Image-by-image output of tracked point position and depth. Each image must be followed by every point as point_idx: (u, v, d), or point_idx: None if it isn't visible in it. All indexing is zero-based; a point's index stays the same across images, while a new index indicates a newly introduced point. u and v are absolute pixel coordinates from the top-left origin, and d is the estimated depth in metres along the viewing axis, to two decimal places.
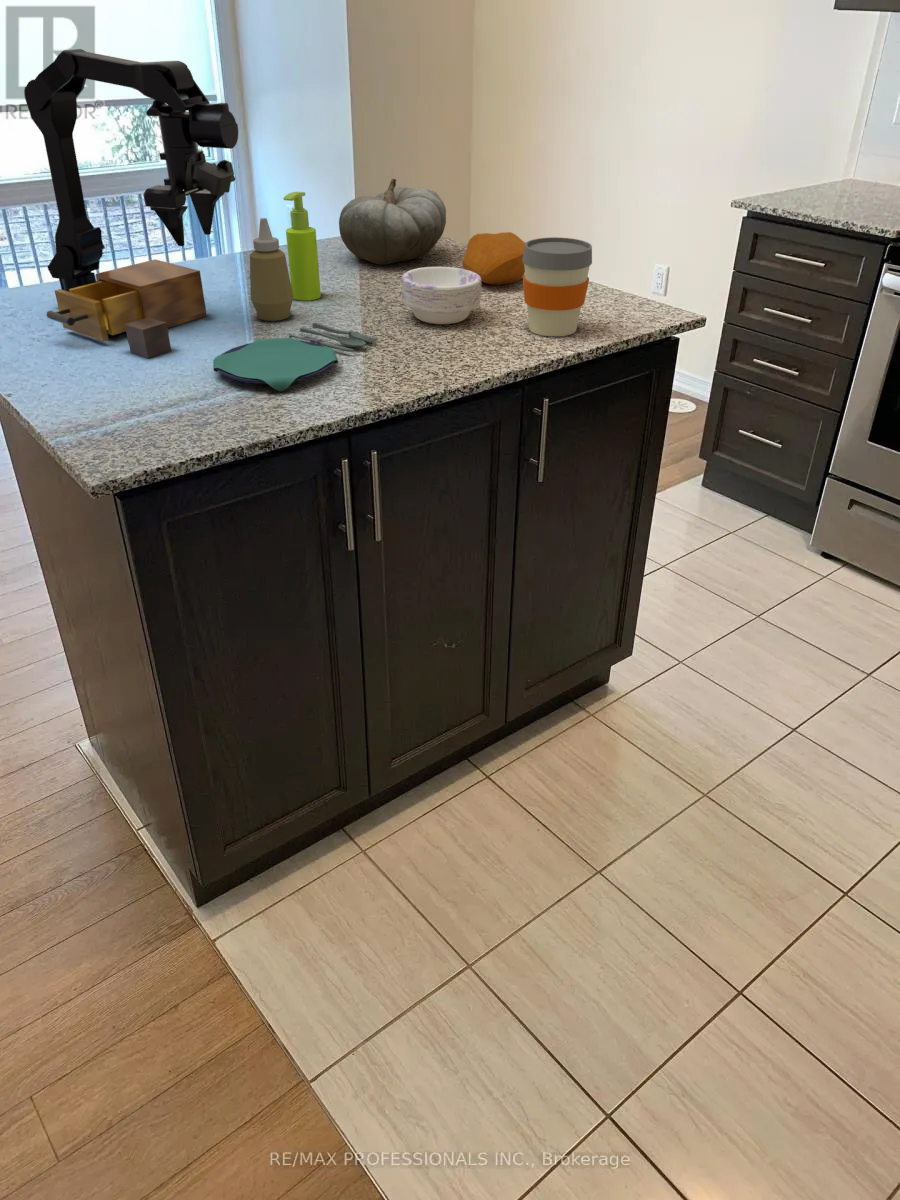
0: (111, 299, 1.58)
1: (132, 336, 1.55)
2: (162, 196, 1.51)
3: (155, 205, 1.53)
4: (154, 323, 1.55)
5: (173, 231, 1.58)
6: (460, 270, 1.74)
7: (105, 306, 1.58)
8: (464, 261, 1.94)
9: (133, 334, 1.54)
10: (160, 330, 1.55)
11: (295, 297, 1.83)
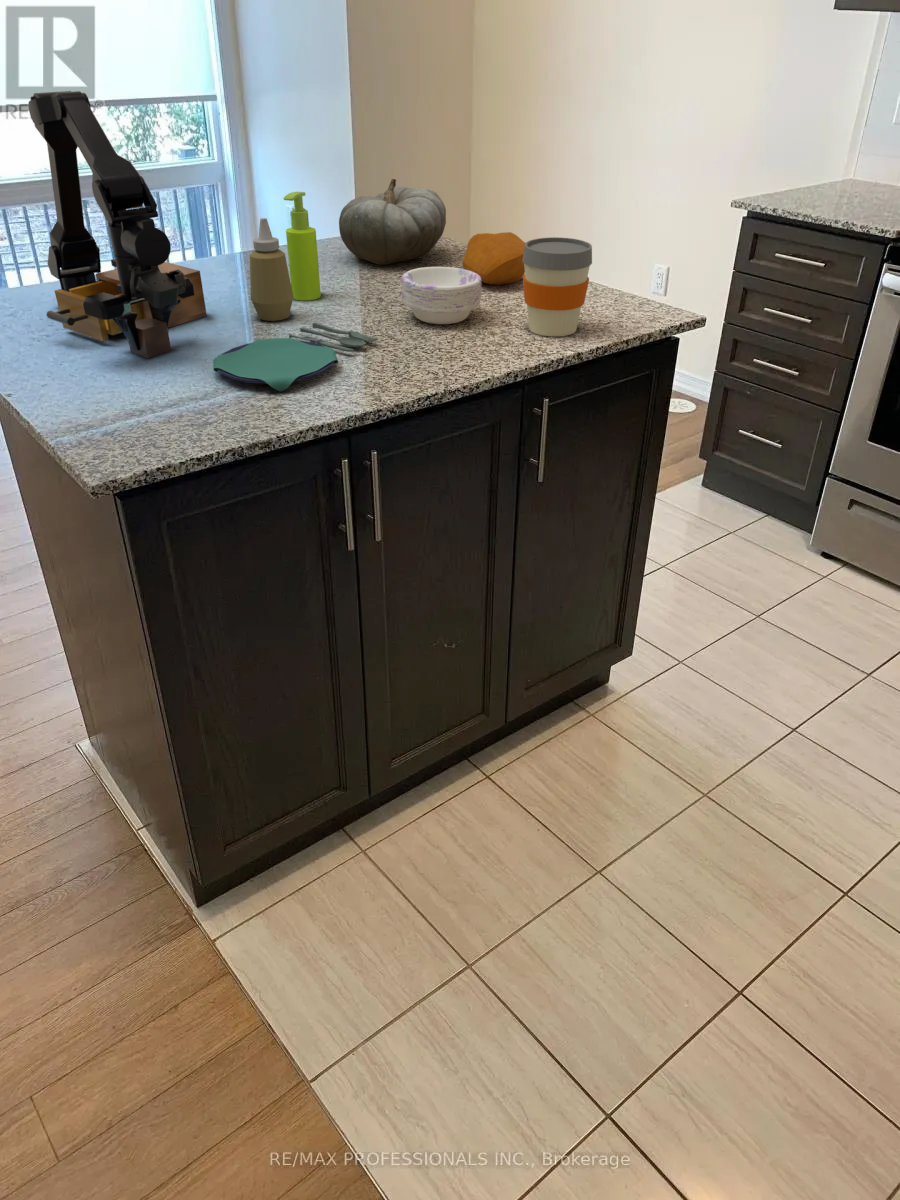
0: None
1: None
2: (95, 307, 1.45)
3: (91, 314, 1.47)
4: (154, 323, 1.55)
5: (127, 335, 1.53)
6: (460, 270, 1.74)
7: None
8: (464, 261, 1.94)
9: None
10: (161, 330, 1.55)
11: (295, 297, 1.83)
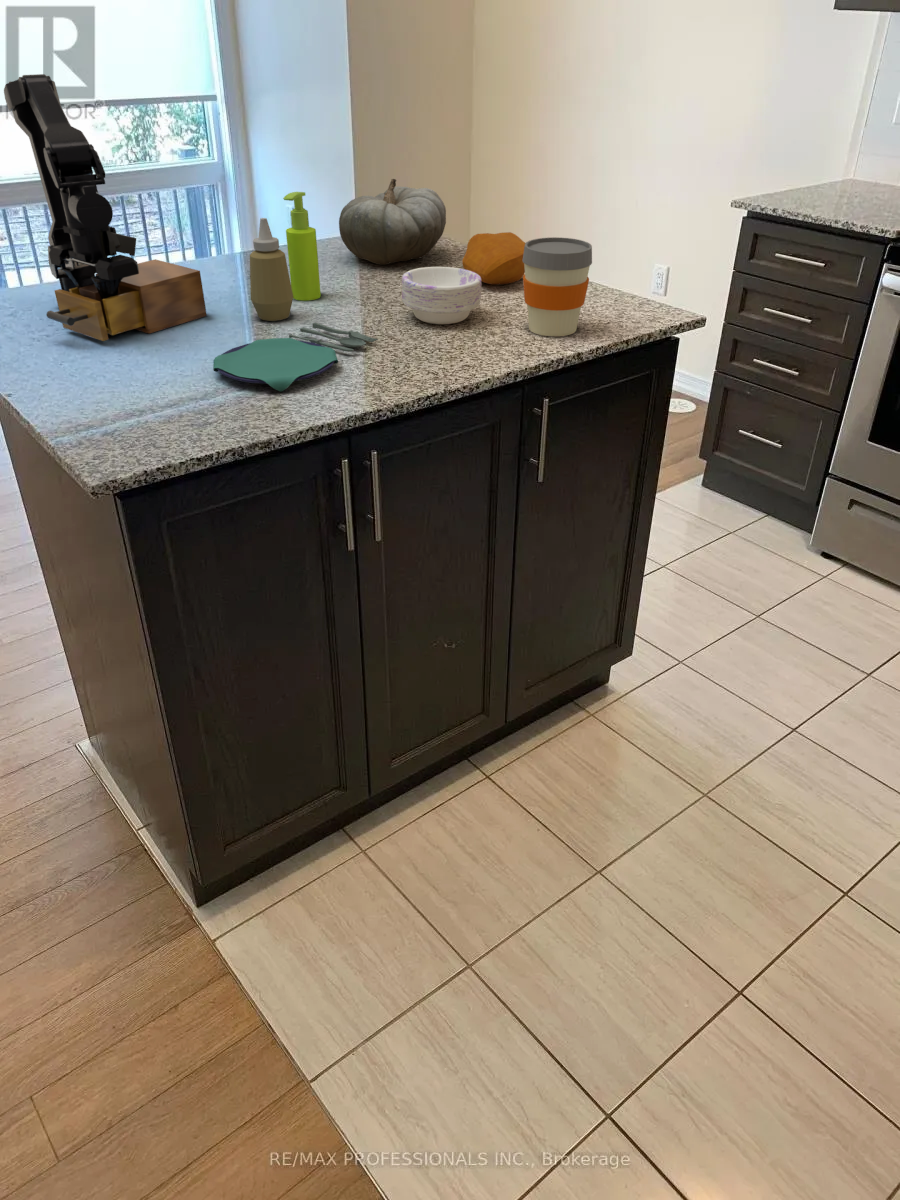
0: (111, 299, 1.58)
1: None
2: (129, 265, 1.55)
3: (122, 276, 1.54)
4: None
5: None
6: (460, 270, 1.74)
7: (105, 306, 1.58)
8: (464, 261, 1.94)
9: None
10: None
11: (295, 297, 1.83)
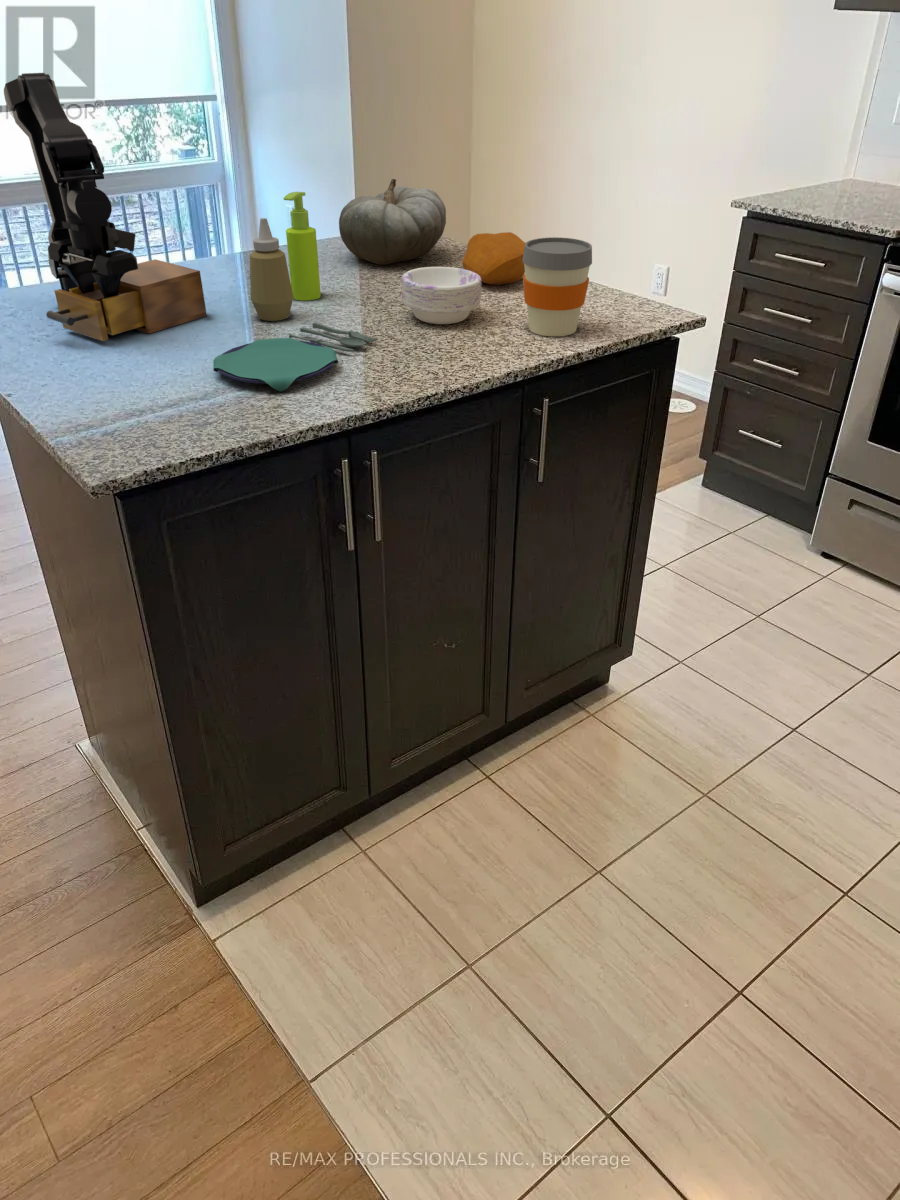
0: (111, 299, 1.58)
1: None
2: (128, 260, 1.54)
3: (121, 271, 1.54)
4: None
5: (111, 295, 1.60)
6: (460, 270, 1.74)
7: (105, 306, 1.58)
8: (464, 261, 1.94)
9: None
10: None
11: (295, 297, 1.83)
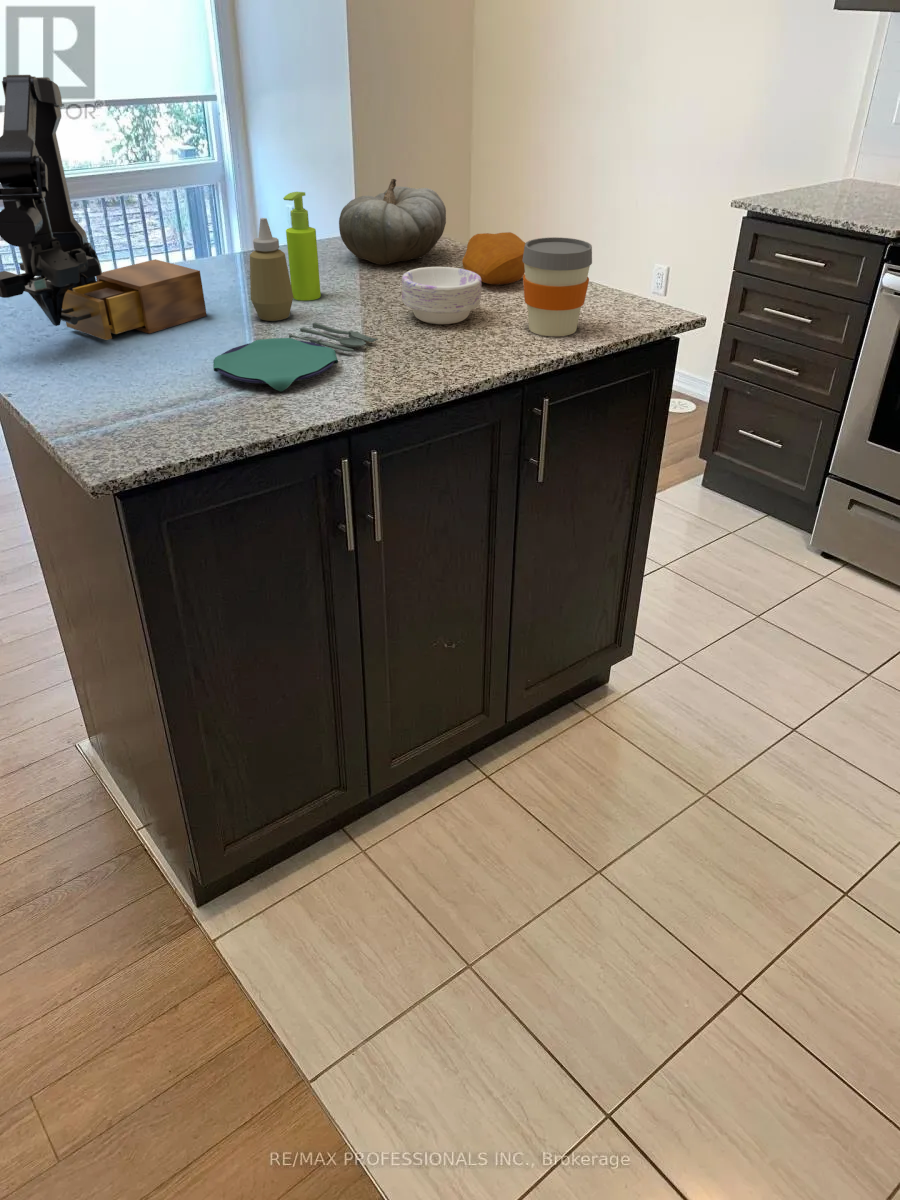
0: (114, 298, 1.59)
1: None
2: None
3: None
4: (106, 290, 1.64)
5: (45, 311, 1.56)
6: (460, 270, 1.74)
7: (108, 305, 1.59)
8: (464, 261, 1.94)
9: None
10: None
11: (295, 297, 1.83)
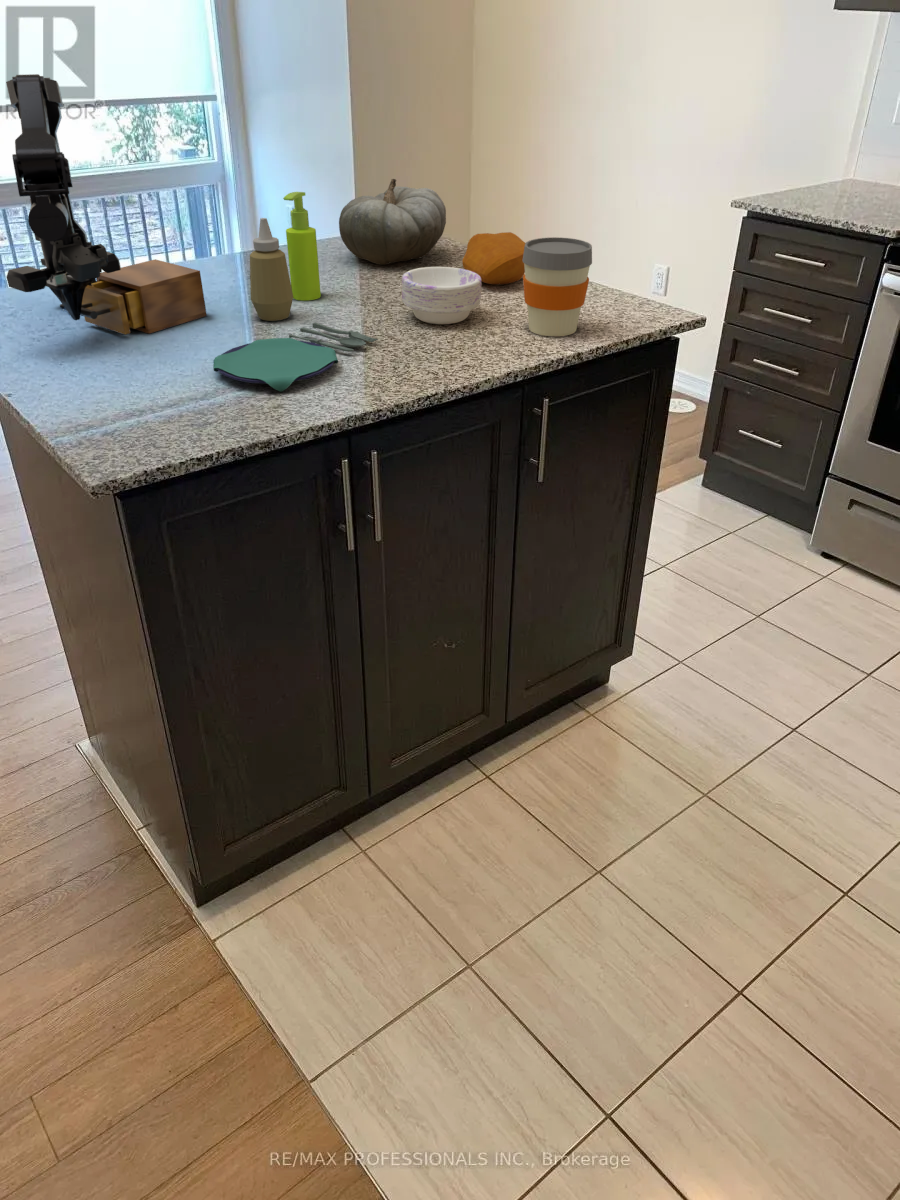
0: (133, 293, 1.61)
1: None
2: (17, 279, 1.49)
3: (14, 287, 1.50)
4: None
5: (65, 305, 1.59)
6: (460, 270, 1.74)
7: (127, 300, 1.61)
8: (464, 261, 1.94)
9: None
10: None
11: (295, 297, 1.83)
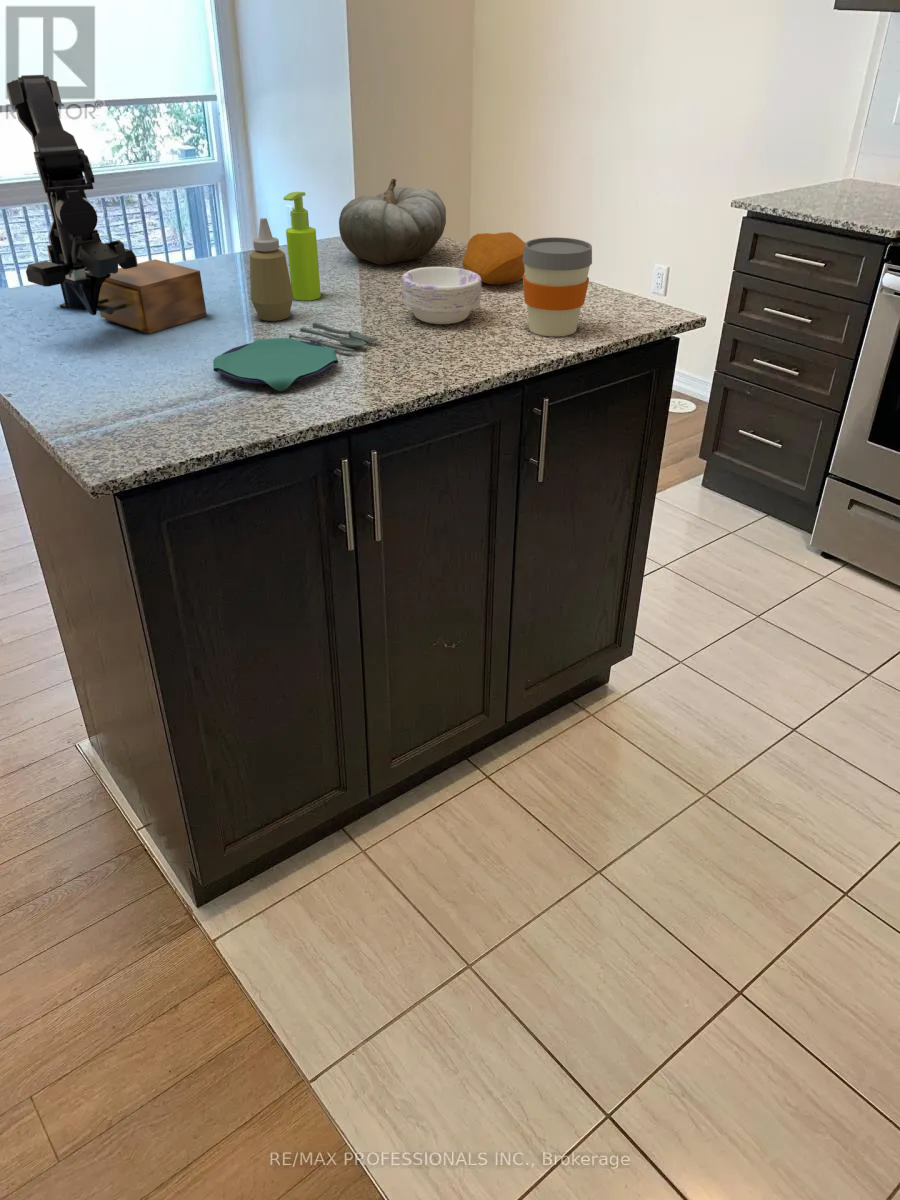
0: None
1: None
2: (37, 274, 1.51)
3: (33, 281, 1.53)
4: None
5: (83, 300, 1.61)
6: (460, 270, 1.74)
7: None
8: (464, 261, 1.94)
9: None
10: None
11: (295, 297, 1.83)
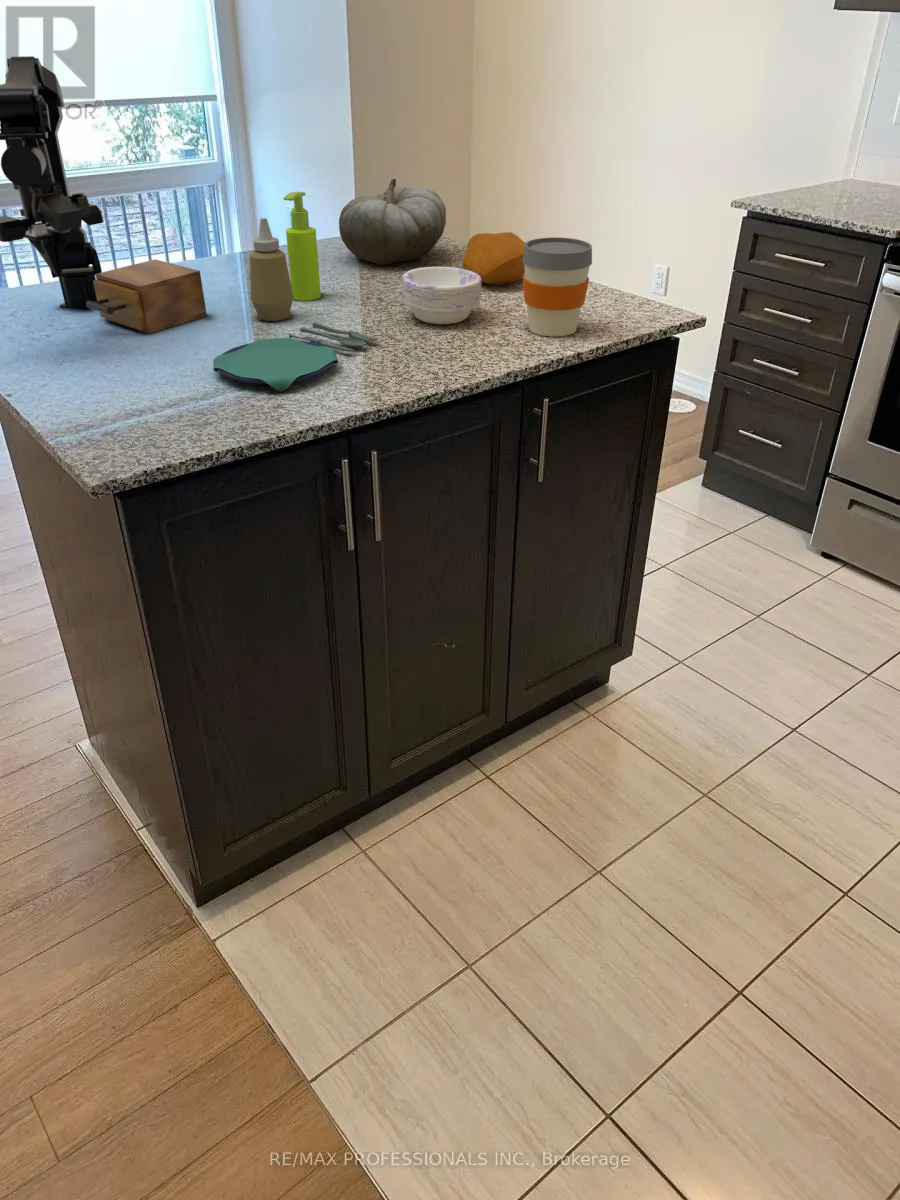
0: None
1: None
2: None
3: None
4: None
5: (46, 259, 1.53)
6: (460, 270, 1.74)
7: None
8: (464, 261, 1.94)
9: None
10: None
11: (295, 297, 1.83)
